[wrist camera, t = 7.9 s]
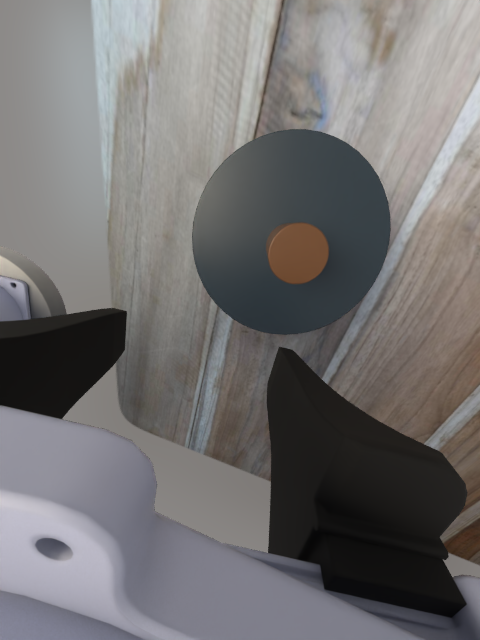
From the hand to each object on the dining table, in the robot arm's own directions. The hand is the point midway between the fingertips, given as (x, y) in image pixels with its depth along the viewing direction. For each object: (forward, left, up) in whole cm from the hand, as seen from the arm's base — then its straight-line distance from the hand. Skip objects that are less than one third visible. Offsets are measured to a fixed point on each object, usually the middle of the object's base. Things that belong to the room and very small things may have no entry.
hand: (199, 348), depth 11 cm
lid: (+3, +5, -5) cm, 8 cm away
